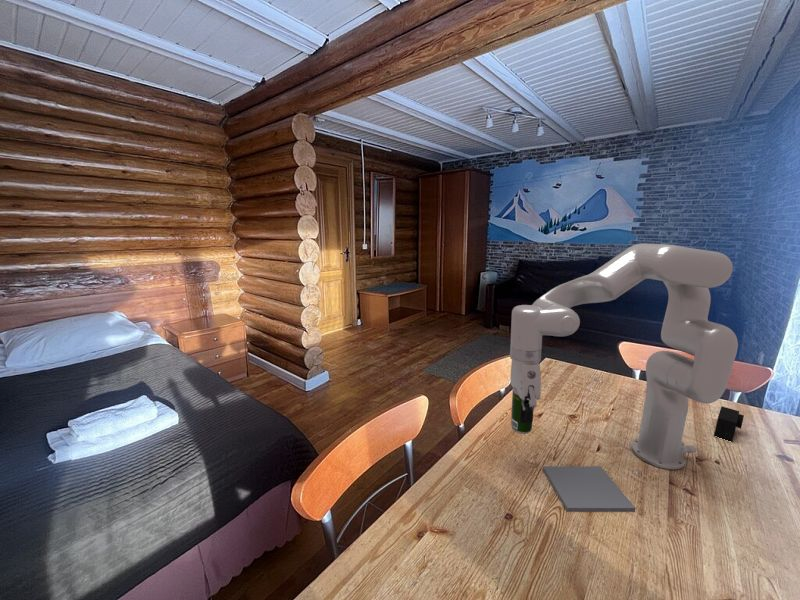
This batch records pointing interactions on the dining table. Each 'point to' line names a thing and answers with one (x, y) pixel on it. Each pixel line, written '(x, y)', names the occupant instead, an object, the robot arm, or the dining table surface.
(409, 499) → the dining table surface
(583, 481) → the mat
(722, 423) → the digital camera
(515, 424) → the beer can
